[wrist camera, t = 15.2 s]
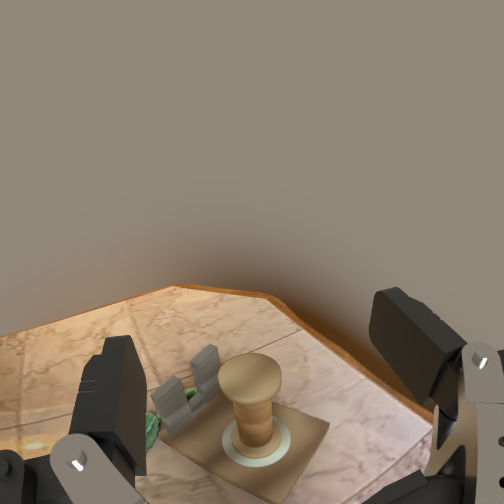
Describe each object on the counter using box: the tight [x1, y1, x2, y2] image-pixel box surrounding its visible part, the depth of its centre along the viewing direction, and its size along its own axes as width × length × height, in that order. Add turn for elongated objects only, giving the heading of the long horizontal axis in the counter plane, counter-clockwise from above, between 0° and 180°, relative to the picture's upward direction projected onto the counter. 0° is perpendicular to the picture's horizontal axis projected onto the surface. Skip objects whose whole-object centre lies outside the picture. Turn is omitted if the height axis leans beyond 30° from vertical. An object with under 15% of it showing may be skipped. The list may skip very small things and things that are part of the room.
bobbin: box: [218, 353, 281, 459], centre depth 31 cm, size 6×6×12 cm
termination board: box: [150, 344, 330, 504], centre depth 34 cm, size 18×13×10 cm
